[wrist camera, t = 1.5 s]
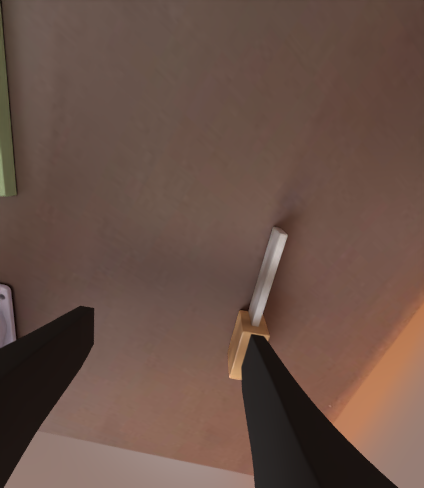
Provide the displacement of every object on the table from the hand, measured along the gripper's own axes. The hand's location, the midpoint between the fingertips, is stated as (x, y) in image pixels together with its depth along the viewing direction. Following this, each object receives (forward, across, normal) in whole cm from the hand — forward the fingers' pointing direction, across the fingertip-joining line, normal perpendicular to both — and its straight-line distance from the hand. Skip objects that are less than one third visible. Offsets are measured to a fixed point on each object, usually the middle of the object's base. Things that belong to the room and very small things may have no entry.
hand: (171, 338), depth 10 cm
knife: (+9, -6, +3) cm, 11 cm away
